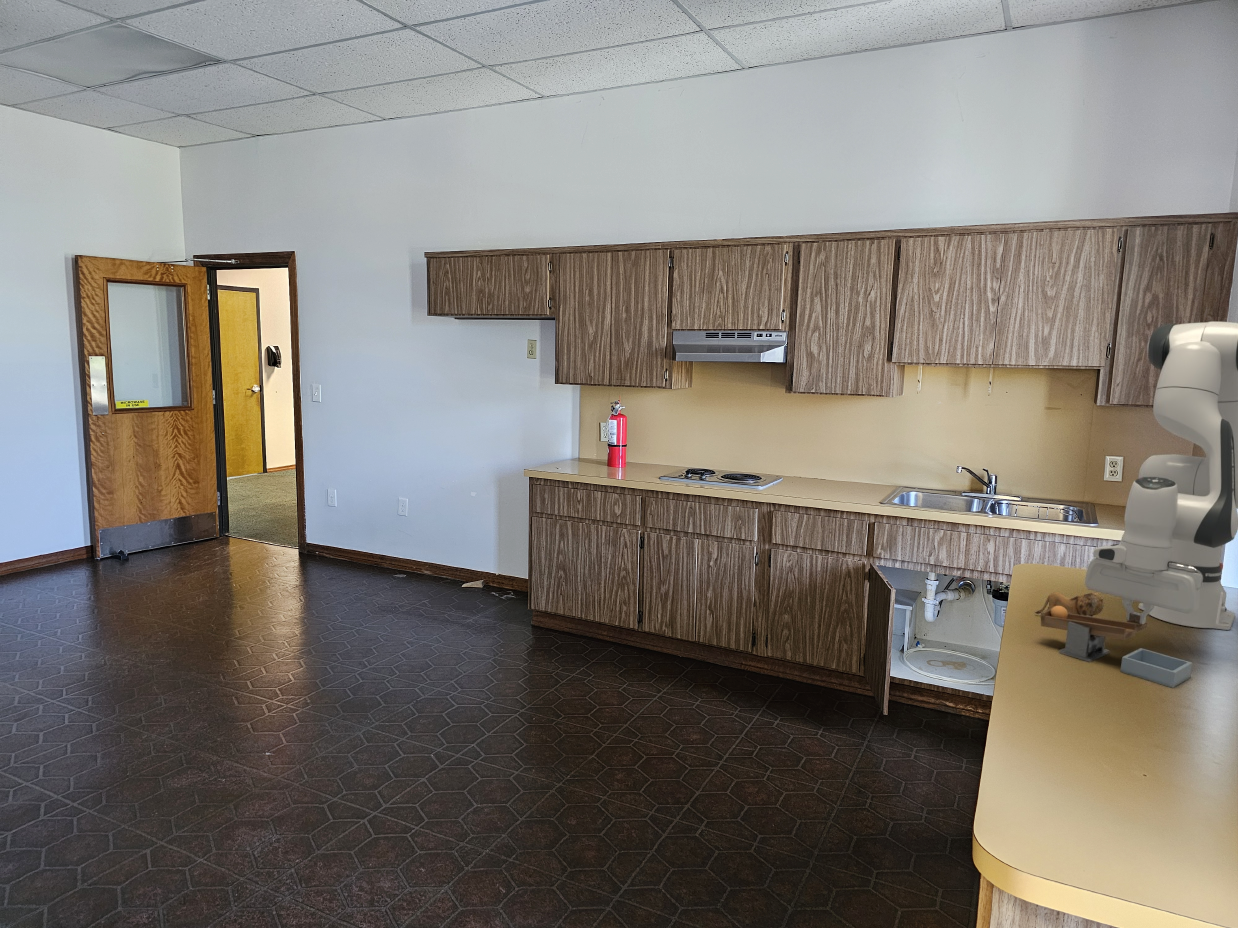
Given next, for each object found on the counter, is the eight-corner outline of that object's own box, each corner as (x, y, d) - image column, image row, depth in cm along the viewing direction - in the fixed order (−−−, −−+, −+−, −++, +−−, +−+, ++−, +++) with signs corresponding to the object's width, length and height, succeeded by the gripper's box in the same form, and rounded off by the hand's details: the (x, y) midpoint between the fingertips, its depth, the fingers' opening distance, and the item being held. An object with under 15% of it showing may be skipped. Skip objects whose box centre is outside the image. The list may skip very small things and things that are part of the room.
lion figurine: (1105, 632, 181) (1110, 593, 180) (1093, 636, 178) (1098, 597, 177) (1040, 613, 193) (1044, 577, 192) (1028, 616, 190) (1032, 580, 189)
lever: (1068, 615, 179) (1068, 602, 179) (1149, 627, 166) (1149, 613, 166) (1041, 625, 171) (1040, 612, 171) (1124, 639, 159) (1123, 624, 158)
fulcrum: (1078, 644, 173) (1082, 613, 172) (1109, 653, 168) (1113, 621, 167) (1059, 652, 167) (1062, 621, 166) (1089, 662, 162) (1093, 629, 161)
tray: (1138, 662, 164) (1140, 647, 163) (1190, 677, 157) (1192, 662, 156) (1120, 671, 158) (1122, 656, 158) (1172, 687, 151) (1175, 672, 151)
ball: (1054, 617, 174) (1055, 603, 173) (1070, 620, 171) (1070, 606, 171) (1047, 620, 172) (1048, 605, 171) (1063, 623, 169) (1063, 608, 169)
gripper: (1210, 566, 158) (1199, 634, 160) (1098, 544, 174) (1090, 605, 176) (1198, 570, 155) (1188, 639, 156) (1085, 547, 171) (1077, 610, 172)
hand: (1135, 621), depth 167 cm, fingers closed
